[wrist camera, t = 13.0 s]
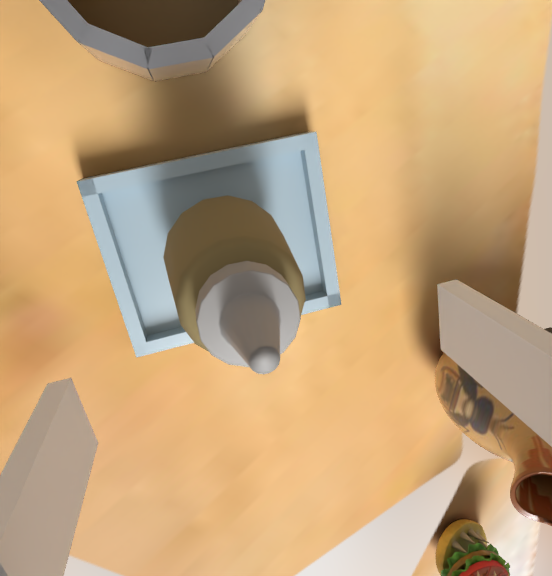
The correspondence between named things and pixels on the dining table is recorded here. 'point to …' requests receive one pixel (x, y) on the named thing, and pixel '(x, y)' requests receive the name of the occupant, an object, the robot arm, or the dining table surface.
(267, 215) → the squeeze bottle
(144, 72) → the grey faceted ring
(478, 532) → the hamburger
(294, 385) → the dining table surface
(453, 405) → the ceramic vessel
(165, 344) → the tray
